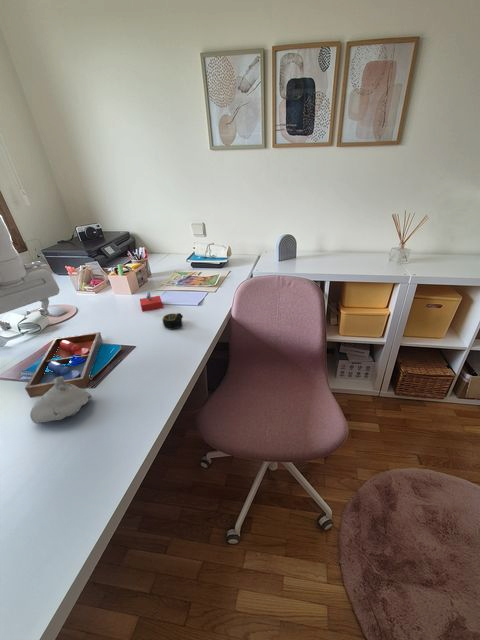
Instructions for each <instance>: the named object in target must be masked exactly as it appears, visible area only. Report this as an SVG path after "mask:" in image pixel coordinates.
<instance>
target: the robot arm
mask: <svg viewBox="0 0 480 640" xmlns="http://www.w3.org/2000/svg"><path fill="white" fill-rule="evenodd" d="M60 290H61V289H60V287H59V285H58V283H57V281H56V279H55V278H54V276H53V271H52V268H51V266H50V265H49V264H48V263H46V262H44V261H40V260H39V261H35V262H31V263H27V264H24V263H23V261H22V258H21V256H20V253H19V252H18V251H17V249H15V247H14V245H13V241H12V235H11V234H10V231H9V228H8V227H7V225H6V222H5V221H4V219H3V216H2V215H1V214H0V315H2V314H5V313H6V314H7V313H8V312H12V311H15V310H18V309H20V308H23V307H26V306H29V305H32V304H34V303H37V302H40V303H41V305H40V308H38V311H39V314H40V315H41V316H43V317H45V316H48V315H50V312H49V309H48V308H49V305H50V300H49V298H52V297H55V296H58V295H59V293H60ZM0 328H1V329H2V331H5V332H6V331H9V330H11V329H13V327H12V326H11V324H10V322H9V321H6V320H4V321H1V320H0Z"/></svg>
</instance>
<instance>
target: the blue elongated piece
mask: <svg viewBox="0 0 480 640" xmlns="http://www.w3.org/2000/svg"><path fill="white" fill-rule="evenodd" d="M48 369H49V370H51V371H53V372H55V373H57V374H59V375H61V376H63V378H64V380H69V379H75V378H80V377H81V375H80V372H79V371H71V369H70V368H68V367H66V366H64V365H62V364H60V363H58V362H56V361H52V362H50V363H49V364H48Z"/></svg>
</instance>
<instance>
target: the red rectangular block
mask: <svg viewBox="0 0 480 640" xmlns="http://www.w3.org/2000/svg"><path fill="white" fill-rule="evenodd" d="M145 296H146V297H143V298H139V304H140V307H141V312H142V313H144V312H149V311H150V312H151V311H155V310H160V309H164V305H163V301H162V298H161V296H160V295H156V296H155V295H154V296H152V295H151V292H150V291H147V292H146V294H145Z"/></svg>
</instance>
